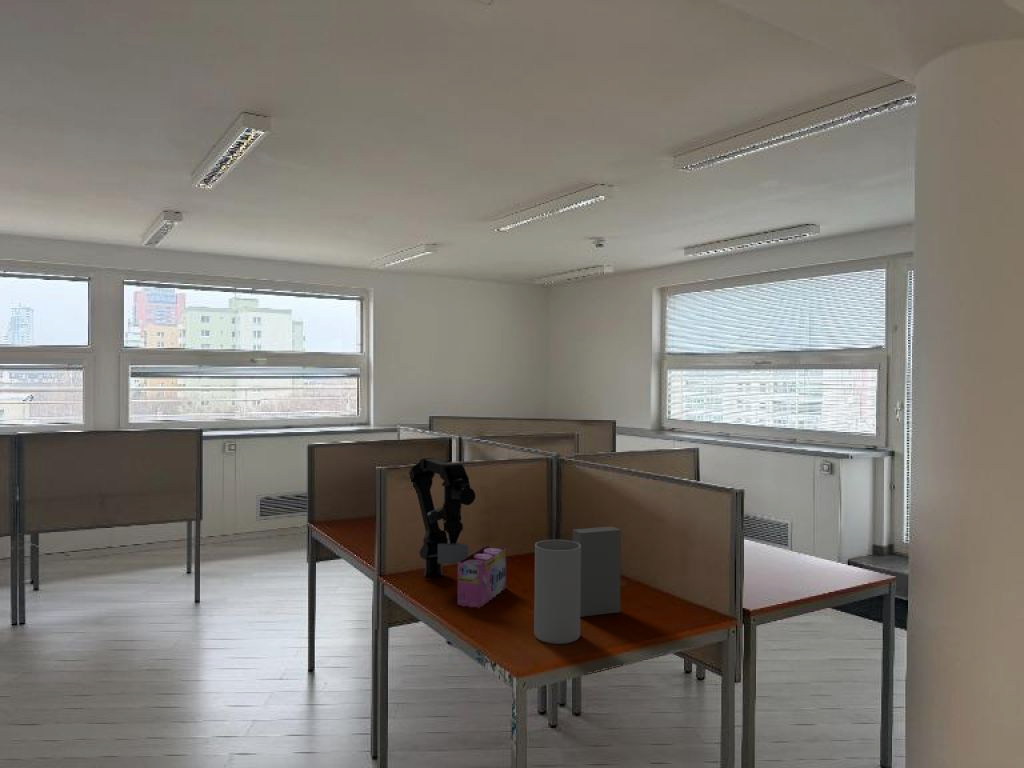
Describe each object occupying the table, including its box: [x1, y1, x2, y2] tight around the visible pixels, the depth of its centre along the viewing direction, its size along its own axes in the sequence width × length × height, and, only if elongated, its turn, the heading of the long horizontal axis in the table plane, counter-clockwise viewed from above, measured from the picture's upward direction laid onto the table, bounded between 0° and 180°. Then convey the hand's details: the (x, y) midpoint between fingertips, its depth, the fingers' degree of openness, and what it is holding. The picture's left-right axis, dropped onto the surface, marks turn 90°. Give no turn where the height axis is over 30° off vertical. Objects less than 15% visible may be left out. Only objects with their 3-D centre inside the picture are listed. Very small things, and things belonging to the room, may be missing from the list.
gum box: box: [456, 545, 507, 609], centre depth 230 cm, size 24×8×14 cm, turn 159°
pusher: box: [438, 533, 469, 564], centre depth 239 cm, size 10×10×7 cm
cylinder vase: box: [533, 539, 581, 645], centre depth 194 cm, size 12×12×25 cm
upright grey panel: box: [572, 526, 622, 618], centre depth 215 cm, size 14×6×25 cm, turn 111°
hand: (452, 546), depth 242 cm, fingers closed on pusher, 3 cm apart
